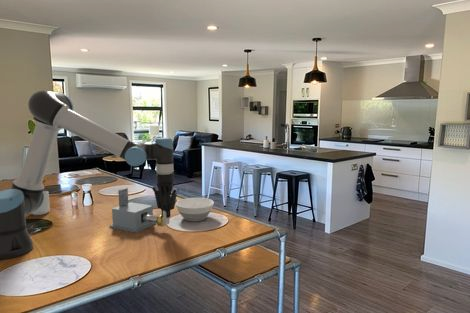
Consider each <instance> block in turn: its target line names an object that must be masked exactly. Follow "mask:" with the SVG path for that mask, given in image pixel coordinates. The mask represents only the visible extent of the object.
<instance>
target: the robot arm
mask: <svg viewBox="0 0 470 313" xmlns="http://www.w3.org/2000/svg"><path fill="white" fill-rule="evenodd" d="M27 105H28V106H27V107H28V110H29V112H30V114H31V115H32V116H33V117H32V118H33V120H32V121H33V122H34V124H35V126H34V130H33V132H32V136H31V139H30V142H29V145H28V149H27V151H26V155H25V158H24V161H23V164H22V168H21V171H20V174H19V176H18V178H16V179H14V180H13V181H12V184H11V187H10V189H8V188H7V189H4V190H0V260H7V258H8V259H13V258H16V257H21V256H22V255H25V254H28V253H30V251H32V250H33V248H34V242H33V240H32V238H31V235H30V234H29V232H28V230H27V220H26V217H27V216H29V215H32V212H34V211H36V210H37V209H38V208H39V207H40V206H41V205H42V203H43V201H44V193H43V191H45V185H44V184H43V180H44V177H45V174H46V171H47V168H48V165H49V161H50V159H51V156H52V153H53V150H54V147H55V143H56V140H57V137H58V135H59V131H60V130H66V131H67V132H69V133H71V134H73V135H75V136H77V137H80V139H83V140H84V141H87V142H89V143H91V144H93V145H95V146H97V147H99V148H100V149H103V150H104V151H107V152H109V153H111V154H113V155H115V156H116V157H119V158H120V159H122V160H124V161H125V162H126V163H127V164H128V165H129V166H130V167H131V166H132V167H138V166H140V165H143V164H144V163H145V162H146V161H147V160H148V161H150V160H152V161H153V160H155V167H156V168H155V172H156V175H155V177H156V182H157V183H156V185H155V186H153V187H152V191H153V192H154V198H155V201H156V202H155V203H156V206H157V209H160V211H161V215H162V217H163V225H164V226H167V225H169V224H170V218H171V210H172V211H173V210H174V209H175V206H176V202H177V196H178V193H179V192H180V190H179V188H176V187H175V185H174V181H175V179H174V178H175V174H174V170H175V169H174V140H173V139H172V138H171V137H157V138H155V141H154V142H133V141H131V140H129V139H127V138H126V137H123V136H121V135H119V134H117V133H116V132H114V131H112V130H110V129H108V128H106V127H104V126H102V125H100V124H99V123H96V122H95V121H93V120H91V119H89V118H87V117H85V116H83V115H81V114H79V113H77V112H76V111H74V104H73V101H72V100H71V99H70V97H69V96H68V95H66V94H64V93H61V92H60V91H49V90H38V91H36V92H35V93H33V94H31V96H30V98H29V99H28V102H27Z"/></svg>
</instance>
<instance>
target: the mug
mask: <svg viewBox="0 0 470 313" xmlns="http://www.w3.org/2000/svg"><path fill="white" fill-rule="evenodd" d="M43 193H44V201H43V203H42V205H41V206H40V207H39V208H38V209H37V210H36V211H34V212H32V213H31V215H32V216H43V215H47V214H48V213H49V212H50V210H51V208H50V195H49V191H48V190H43Z"/></svg>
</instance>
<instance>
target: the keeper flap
mask: <svg viewBox="0 0 470 313" xmlns="http://www.w3.org/2000/svg"><path fill="white" fill-rule="evenodd" d="M117 193H118V206H119V207H121V206H124V205H127V204H128V203H129V191H128V187H124V188H121V189H118V192H117Z"/></svg>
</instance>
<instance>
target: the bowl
mask: <svg viewBox="0 0 470 313" xmlns="http://www.w3.org/2000/svg"><path fill="white" fill-rule="evenodd" d="M214 204H215V202H214V200H213V199H210V198H206V197H186V198H181V199H179V200H176V201H175V206H176V208H177V211H178V212H179V214H180V215H181V217H182V218H183V219H184V220H185V221H187V222H201V221H203V220H204V221H205V220H206V219H207V217H208V216H209V214H210V213H211V211H212V209H213V207H214Z"/></svg>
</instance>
